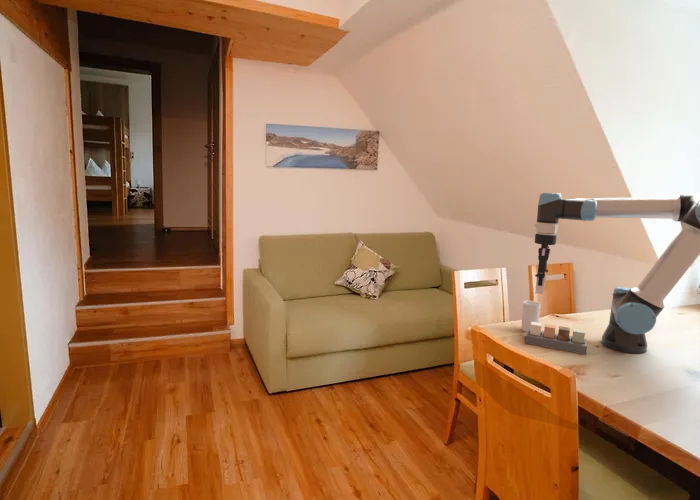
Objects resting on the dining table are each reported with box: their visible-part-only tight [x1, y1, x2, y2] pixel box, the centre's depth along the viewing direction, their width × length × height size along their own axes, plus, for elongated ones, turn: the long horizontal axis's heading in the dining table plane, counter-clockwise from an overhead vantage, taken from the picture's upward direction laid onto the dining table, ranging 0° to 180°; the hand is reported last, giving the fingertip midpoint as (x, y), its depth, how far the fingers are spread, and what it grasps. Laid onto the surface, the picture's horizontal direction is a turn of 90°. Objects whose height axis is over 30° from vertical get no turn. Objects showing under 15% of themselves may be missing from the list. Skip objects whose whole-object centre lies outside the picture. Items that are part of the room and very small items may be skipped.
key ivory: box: [530, 322, 543, 336], centre depth 171 cm, size 4×4×4 cm
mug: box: [520, 300, 542, 333], centre depth 185 cm, size 10×7×12 cm, turn 138°
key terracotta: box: [543, 323, 556, 338], centre depth 169 cm, size 4×4×4 cm
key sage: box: [571, 327, 586, 343], centre depth 165 cm, size 4×4×4 cm
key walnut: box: [557, 325, 571, 341], centre depth 167 cm, size 4×4×4 cm
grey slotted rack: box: [525, 329, 588, 355], centre depth 169 cm, size 21×9×3 cm, turn 64°
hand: (539, 290), depth 169 cm, fingers open, 9 cm apart
